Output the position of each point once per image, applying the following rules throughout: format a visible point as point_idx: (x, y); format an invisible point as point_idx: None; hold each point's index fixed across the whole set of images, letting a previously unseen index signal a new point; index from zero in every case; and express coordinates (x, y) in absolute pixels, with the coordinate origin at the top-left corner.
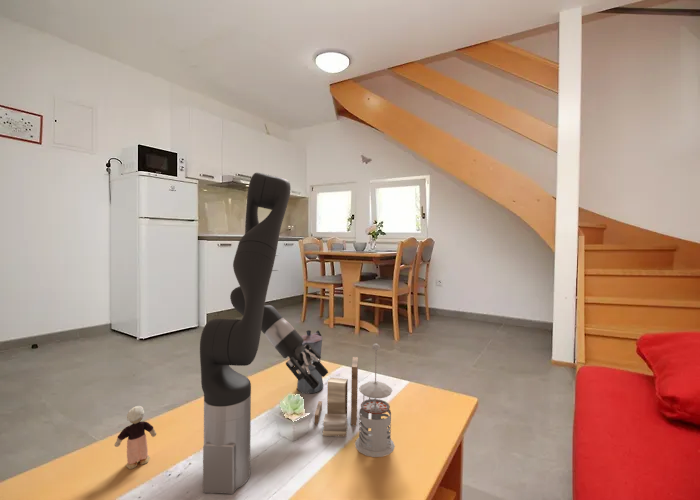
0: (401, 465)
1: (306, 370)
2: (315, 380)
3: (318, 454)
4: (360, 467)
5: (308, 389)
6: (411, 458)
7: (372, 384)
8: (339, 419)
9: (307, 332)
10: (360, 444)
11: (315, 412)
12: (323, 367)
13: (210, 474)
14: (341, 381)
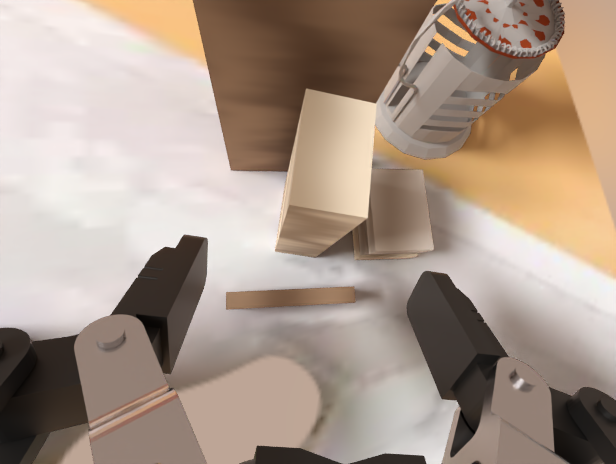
0: None
1: (551, 408)
2: (459, 297)
3: (496, 256)
4: (515, 146)
5: None
6: (456, 34)
7: None
8: (408, 191)
9: None
10: (451, 139)
11: (335, 302)
12: (187, 271)
13: None
14: (350, 125)
